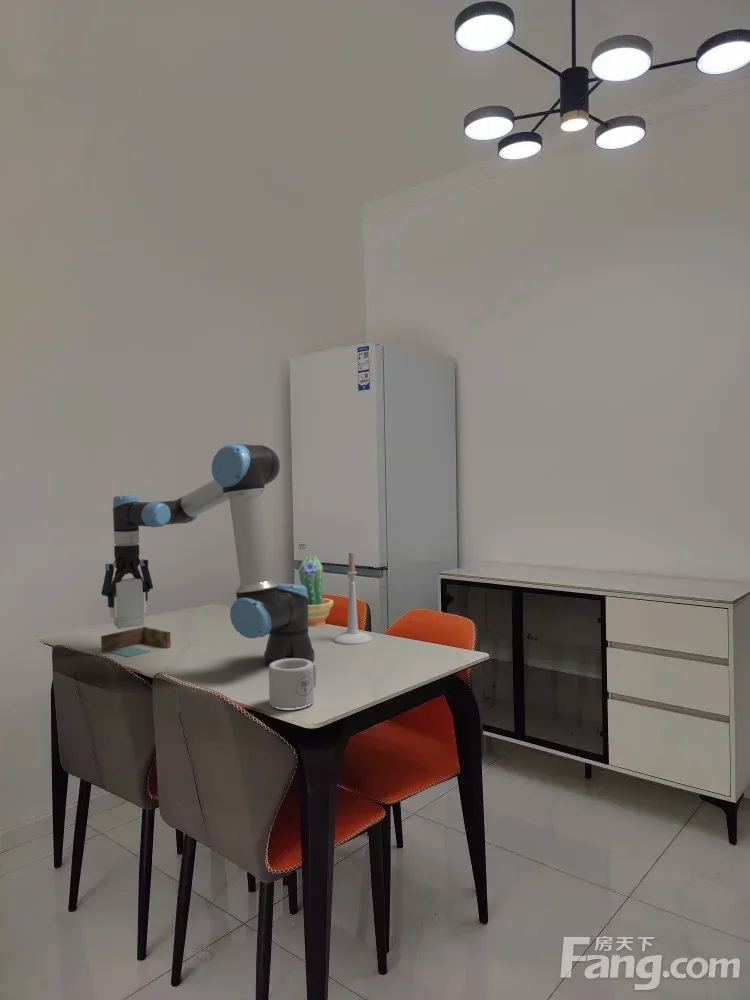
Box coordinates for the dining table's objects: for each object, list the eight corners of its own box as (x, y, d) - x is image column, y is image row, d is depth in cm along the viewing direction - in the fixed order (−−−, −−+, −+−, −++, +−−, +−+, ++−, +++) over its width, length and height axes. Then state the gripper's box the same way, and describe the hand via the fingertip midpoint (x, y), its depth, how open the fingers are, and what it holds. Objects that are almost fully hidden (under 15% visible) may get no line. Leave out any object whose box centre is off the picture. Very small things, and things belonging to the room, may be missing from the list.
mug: (289, 714, 161) (288, 672, 161) (260, 705, 168) (259, 664, 168) (331, 700, 171) (330, 660, 171) (301, 691, 179) (300, 652, 178)
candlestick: (329, 637, 235) (328, 549, 234) (365, 634, 239) (364, 548, 238) (339, 646, 223) (338, 553, 222) (377, 643, 227) (375, 551, 226)
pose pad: (150, 651, 220) (150, 650, 220) (127, 657, 214) (127, 656, 214) (132, 647, 226) (132, 646, 226) (109, 652, 220) (109, 651, 220)
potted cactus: (284, 624, 257) (282, 557, 255) (310, 616, 269) (309, 552, 268) (316, 629, 248) (314, 560, 247) (342, 621, 260) (341, 555, 259)
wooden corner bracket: (170, 647, 225) (170, 632, 225) (126, 658, 213) (126, 642, 212) (145, 641, 234) (144, 626, 234) (101, 651, 221) (101, 636, 221)
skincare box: (139, 622, 225) (138, 576, 224) (144, 625, 220) (143, 579, 219) (112, 626, 220) (111, 579, 219) (117, 629, 215) (115, 581, 214)
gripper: (150, 540, 230) (151, 607, 231) (87, 546, 212) (89, 619, 213) (163, 541, 225) (165, 610, 226) (100, 548, 208) (102, 622, 209)
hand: (128, 614), depth 220 cm, fingers closed on skincare box, 9 cm apart
